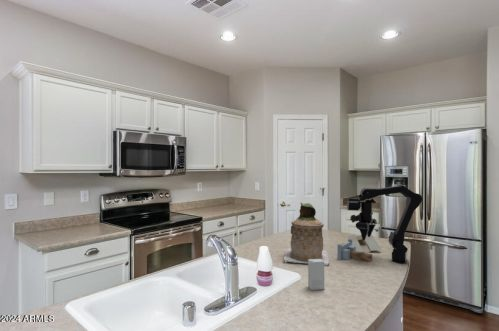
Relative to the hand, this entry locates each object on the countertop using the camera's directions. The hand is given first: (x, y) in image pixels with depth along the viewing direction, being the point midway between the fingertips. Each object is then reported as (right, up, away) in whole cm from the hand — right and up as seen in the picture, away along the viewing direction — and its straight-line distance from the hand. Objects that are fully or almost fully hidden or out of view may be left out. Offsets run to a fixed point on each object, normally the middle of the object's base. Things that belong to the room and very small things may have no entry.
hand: (366, 238), depth 169 cm
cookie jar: (-33, -12, +3) cm, 36 cm away
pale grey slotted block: (+6, -12, +20) cm, 24 cm away
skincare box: (-37, -12, -40) cm, 56 cm away
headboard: (-8, -12, +5) cm, 16 cm away
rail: (-3, -12, +1) cm, 13 cm away
